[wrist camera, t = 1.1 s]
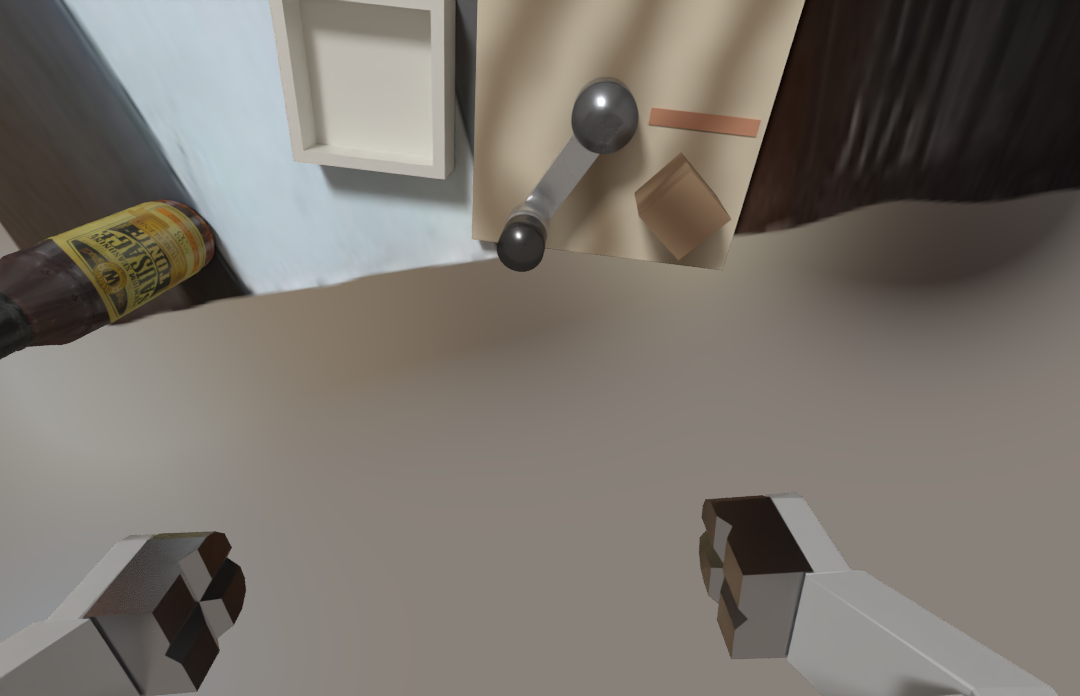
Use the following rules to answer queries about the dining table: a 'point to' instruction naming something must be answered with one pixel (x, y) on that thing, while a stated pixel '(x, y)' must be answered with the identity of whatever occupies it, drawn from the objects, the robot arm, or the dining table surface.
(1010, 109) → the dining table surface
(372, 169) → the tray
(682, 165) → the block
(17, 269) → the sauce bottle
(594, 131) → the crank
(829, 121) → the dining table surface
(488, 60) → the crank board
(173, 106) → the dining table surface
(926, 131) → the dining table surface
